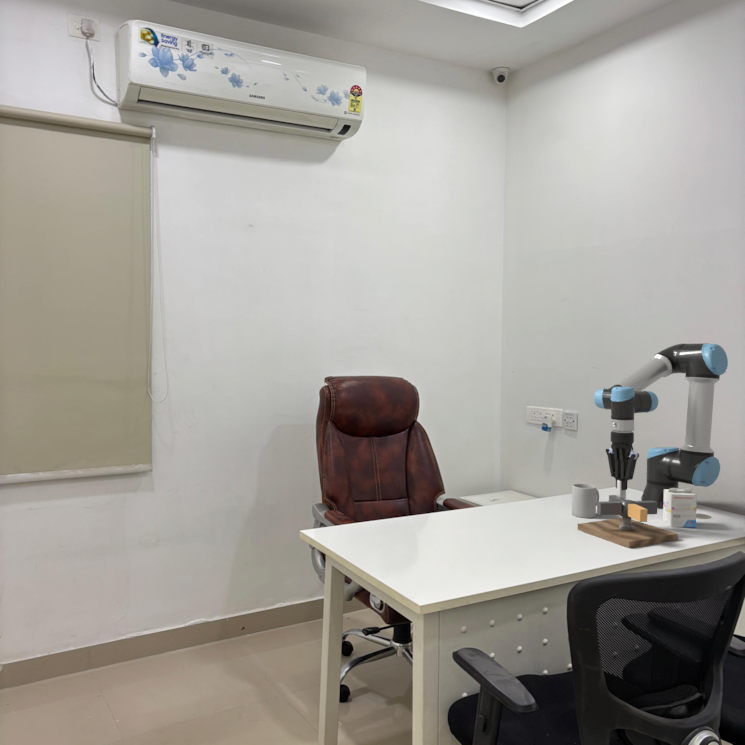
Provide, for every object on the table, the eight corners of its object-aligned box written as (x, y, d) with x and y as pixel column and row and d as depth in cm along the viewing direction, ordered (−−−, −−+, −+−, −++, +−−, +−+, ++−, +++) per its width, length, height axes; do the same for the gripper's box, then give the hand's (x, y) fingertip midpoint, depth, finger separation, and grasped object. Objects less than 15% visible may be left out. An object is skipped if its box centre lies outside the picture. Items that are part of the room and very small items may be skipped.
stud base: (624, 522, 227) (624, 506, 227) (677, 539, 207) (678, 521, 207) (577, 529, 217) (577, 512, 217) (629, 548, 197) (629, 528, 197)
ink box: (686, 521, 230) (688, 484, 229) (696, 528, 222) (697, 489, 221) (662, 520, 231) (663, 484, 230) (670, 527, 222) (671, 489, 222)
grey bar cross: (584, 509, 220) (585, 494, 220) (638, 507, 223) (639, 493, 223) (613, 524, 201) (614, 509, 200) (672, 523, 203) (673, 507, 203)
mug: (584, 519, 231) (585, 489, 231) (566, 514, 238) (567, 484, 238) (607, 515, 237) (607, 486, 237) (588, 510, 244) (589, 482, 244)
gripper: (600, 429, 225) (599, 495, 226) (629, 434, 213) (628, 504, 214) (615, 428, 228) (614, 493, 229) (645, 432, 216) (644, 501, 217)
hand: (621, 498), depth 222 cm, fingers closed
